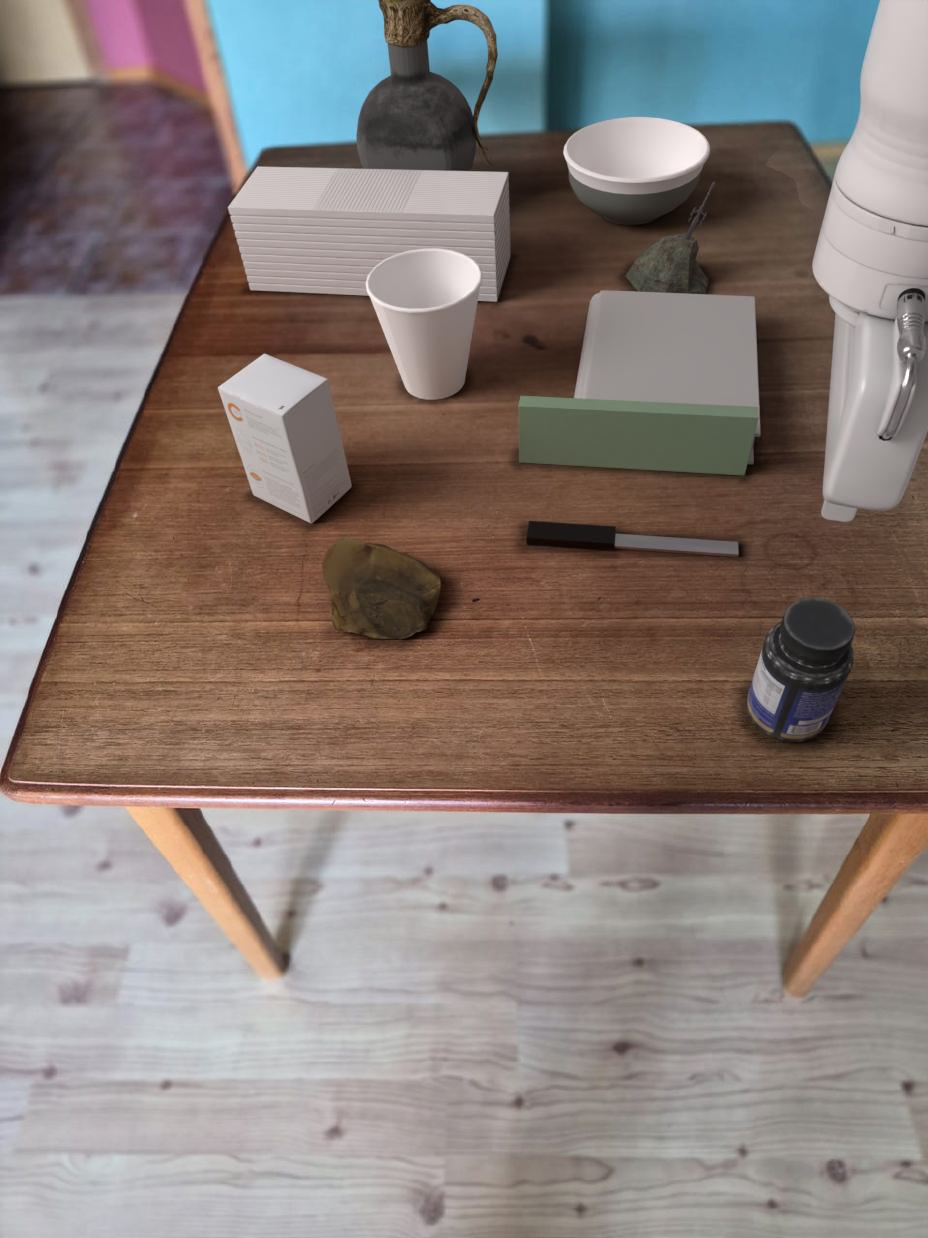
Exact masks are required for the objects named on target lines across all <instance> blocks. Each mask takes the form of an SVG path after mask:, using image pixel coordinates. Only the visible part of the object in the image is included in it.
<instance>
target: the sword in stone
mask: <svg viewBox="0 0 928 1238" xmlns="http://www.w3.org/2000/svg"><path fill="white" fill-rule="evenodd" d="M716 185H717V184H716V182H715V181H713V182H712V183H711V185H710V187H709V189H708V192H707V193H706V196H705V197H704V199H703V202H702V204H701V205H700V206H699V207H698V209H697V207H694V208H693V209H692V211H691V212H690V215H689V216H690V217H689V218H688V221H687V224H689V223H690V221H692V222H691V224H690V226H689V228H688V230H687V233H684V232H683V233H677V234H671V235H667V236H663V237H662V238H660V239H659V240H658V241H656V242H655V243H653V244H652V245H650V246H649V247H648V248H647V249H645V250H644V251H643V252H642V253H641V254H640V255H639V256H638V257H637V258H636V259H635V261H634V262H633V263H632V265H631V266H630V268H629V269H628V271H627V272H626V275H625V279H626V280H628V282H629V283H630V284H631V285H632V286H633V287H634V289H635V290H636V292H659V293H684V294H706V293H707V290H708V285H709V282H710V281H709V279H708V277H707V276H706V274H705V273H704V272H703V269H702V268H701V267H700V265H699V264H698V260H697V256H698V252H699V250H700V247H699V244H698V240H697V239H696V238H695V236H693V235H692V234H693V233H694V230H695V229H696V227H697V225H698V224H699V226H698V227H697V229H699V228H700V227H701V226H702V225H703V222H704V221H705V220H706V217H707V216H708V215H707V212H704V210H705V207H706V205H707V203H708V200H709V199H710V197H711V195H712V192H713V191H714V188H715V187H716ZM695 213H697V214H696V215H695V216H694V217H693V215H694V214H695ZM701 215H703V217H702V219H701V220H700V217H701ZM692 218H693V220H692Z"/></svg>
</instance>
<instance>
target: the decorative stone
mask: <svg viewBox="0 0 928 1238" xmlns="http://www.w3.org/2000/svg"><path fill="white" fill-rule="evenodd" d="M321 570H322V574H323V579H324V581H325V584H326V586H327V587H328V590H329V597H328V598H329V600H330V602H331V603H330V608H331V609H330V619H331V623H332V626H333V628H334V630H336V631H339V632H343V633H351V634H357V635H363V636H367V637H369V639H370V638H371V639H379V640H380V639H381V640H396V639H397V640H404V639H408V638H410V637H412V636H414V635H415V634H417V633H421V632H424V631H426V630H427V628H428V625H429V622H430V620H431V618H432V617H433V615H434V613H435V611H436V608H437V605H438V602H439V598H440V593H441V587H442V577H441V576H440V575H439V573H437V572H435V571H434V570H433V569H432V568H430V567H429V566H428V565H427V564H426V563H424V561H421V560H420V559H418V558H415V557H413V556H411V555H409V554H407V553H404V552H401V551H398V550H397V549H394V548H392V547H390V546H388V545H386V544H382V543H374V542H363V541H361V540H358V539H355V538H354V539H353V538H351V537H346V536H343V537H341V538H340V539H339V540H337V541H336V542H334V544H331V546H330V547H328V548H327V550H326V551H325V554H324V557H323V559H322V562H321Z"/></svg>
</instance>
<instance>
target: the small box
mask: <svg viewBox="0 0 928 1238" xmlns="http://www.w3.org/2000/svg"><path fill="white" fill-rule="evenodd" d="M217 390H218V393H219V396H220V399H221V403H222V405H223V408H224V411H225V414H226V416H227V420H228V423H229V426H230V429H231V432H232V435H233V438H234V441H235V444H236V448H237V450H238V453H239V456H240V460H241V463H242V465H243V468H244V471H245V475H246V477H247V480H248V484H249V487H250V489H251V494H252V495H253V496H254V497H256V498H258V499H260V500H262V501H263V502H266V503H268V504H271V505H272V506H274V507H277V508H278V509H279V510H283V511H285V512H286V513H289V514H291V515H292V516H295V517H296V518H299V519H300V520H303V521H305V522H307V523H309V524H310V525H311V524H314V522H316V521H317V520H318V519H319V518H320V517H321V516H322V515H323V514H325V513H326V512H327V511H328V510H329V509H330V508H331V507H333V505H334V504H335V503H337V502H338V501H339V500H340V499H341V498H342V497H343V496H344V495H345V494H346V493H347V492H348V491H349V490H350V489H351V488H352V485H353V484H352V481H351V480H352V479H351V476H350V472H349V468H348V463H347V457H346V453H345V449H344V444H343V439H342V436H341V431H340V426H339V423H338V418H337V414H336V409H335V404H334V401H333V396H332V391H331V387H330V382H329V379H328V377H325V376H322V375H319V374H317V373H314V372H312V371H309V370H307V369H304V368H302V367H299V366H297V365H295V364H292V363H290V362H287V361H285V360H282V359H280V358H277V357H274V356H272V355H269V354H267V353H262V355H260V356H259V357H257V358H256V359H254V360H253V361H252V362H251V363H249V364H247V366H245V367H244V368H242V369H241V370H240V371H238V372H237V373H235V374H234V375H233V376H231V377H230V378H229V379H227V380H226V381H224V382H223V383H221V384H220V385H218V387H217Z"/></svg>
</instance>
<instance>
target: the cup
mask: <svg viewBox="0 0 928 1238" xmlns="http://www.w3.org/2000/svg"><path fill="white" fill-rule="evenodd" d="M482 277H483V274H482V271H481V269H480V266H479V265H478V264H477V263H476V262H475V261H474V260H473V259H472V258H470V257H468V256H466V255H465V254H462V253H459V252H456V251H453V250H447V249H439V248H424V249H417V250H410V251H406V252H403V253H399V254H396V255H394V256H391V257H389V258H387V259H385V260H383V261H382V262H381V263H379V264H378V265H376V266H375V267H374V268H373V270H372V271H371V272H370V273H369V275H368V277H367V281H366V289H367V293H368V295H369V296H368V297H369V299H370V301H371V304H372V306H373V308H374V311H375V314H376V316H377V320H378V323H379V324H380V327H381V329H382V332H383V334H384V337H385V339H386V342H387V345H388V347H389V350H390V353H391V355H392V357H393V360H394V363H395V365H396V367H397V370H398V373H399V375H400V378H401V381H402V383H403V386H404V388H405V390H406V391H407V392H408V393H409V394H410V395H411V396H413V397H415V398H418V399H422V400H427V401H433V400H434V401H436V400H443V399H446V398H449V397H451V396H453V395H455V394H457V393H458V392H459V391H460V390H462V389H463V387H464V385H465V383H466V375H467V371H468V370H467V369H468V363H469V359H470V358H469V357H470V352H471V351H470V350H471V345H472V339H473V333H474V328H475V327H474V326H475V320H476V314H477V310H478V309H477V308H478V302H479V301H478V296H479V290H480V286H481V284H482Z"/></svg>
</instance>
